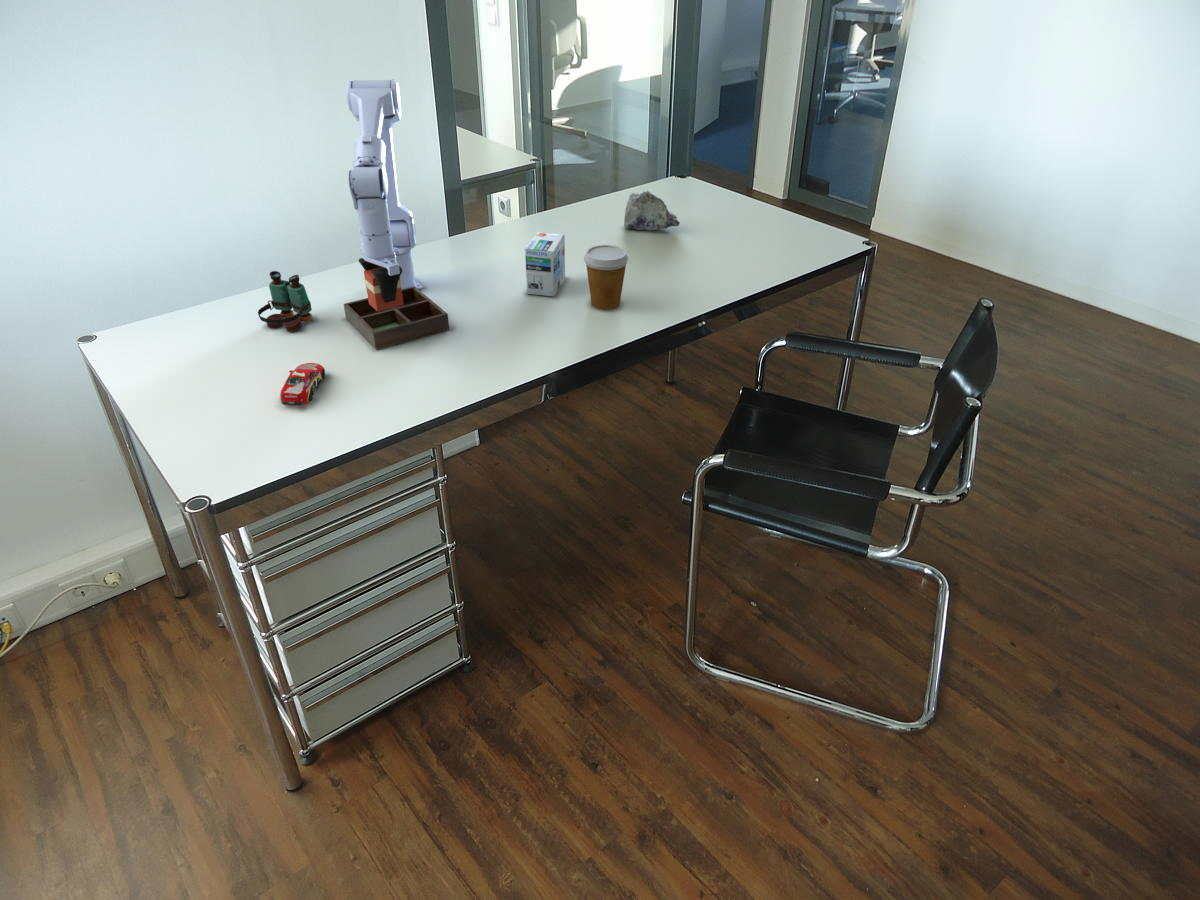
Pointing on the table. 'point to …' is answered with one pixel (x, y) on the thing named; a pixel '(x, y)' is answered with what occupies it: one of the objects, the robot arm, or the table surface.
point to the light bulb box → (545, 264)
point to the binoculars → (287, 303)
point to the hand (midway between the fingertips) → (384, 296)
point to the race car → (302, 384)
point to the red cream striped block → (375, 293)
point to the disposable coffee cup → (605, 275)
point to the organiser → (397, 319)
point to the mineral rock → (648, 213)
